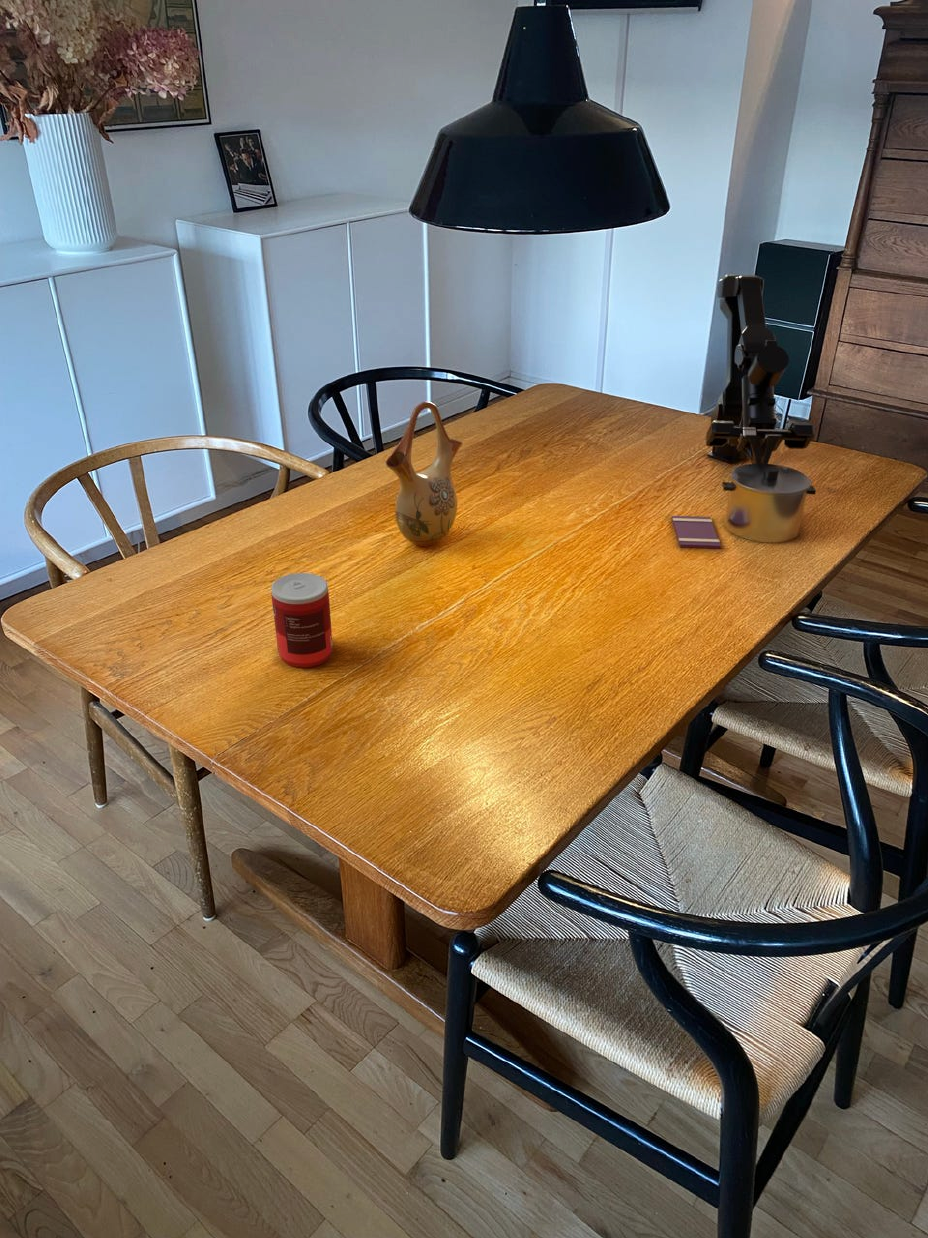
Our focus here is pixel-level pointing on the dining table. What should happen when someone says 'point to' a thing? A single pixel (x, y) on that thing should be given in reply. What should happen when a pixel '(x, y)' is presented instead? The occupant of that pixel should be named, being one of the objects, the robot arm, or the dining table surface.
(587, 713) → the dining table surface
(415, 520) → the ceramic vessel
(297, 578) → the canned food
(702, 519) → the purple striped coaster
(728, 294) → the robot arm
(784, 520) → the steel pot
